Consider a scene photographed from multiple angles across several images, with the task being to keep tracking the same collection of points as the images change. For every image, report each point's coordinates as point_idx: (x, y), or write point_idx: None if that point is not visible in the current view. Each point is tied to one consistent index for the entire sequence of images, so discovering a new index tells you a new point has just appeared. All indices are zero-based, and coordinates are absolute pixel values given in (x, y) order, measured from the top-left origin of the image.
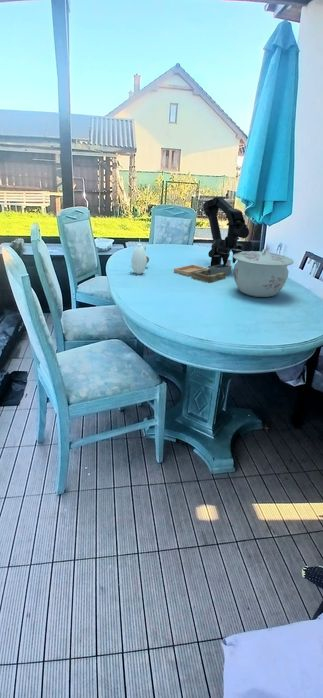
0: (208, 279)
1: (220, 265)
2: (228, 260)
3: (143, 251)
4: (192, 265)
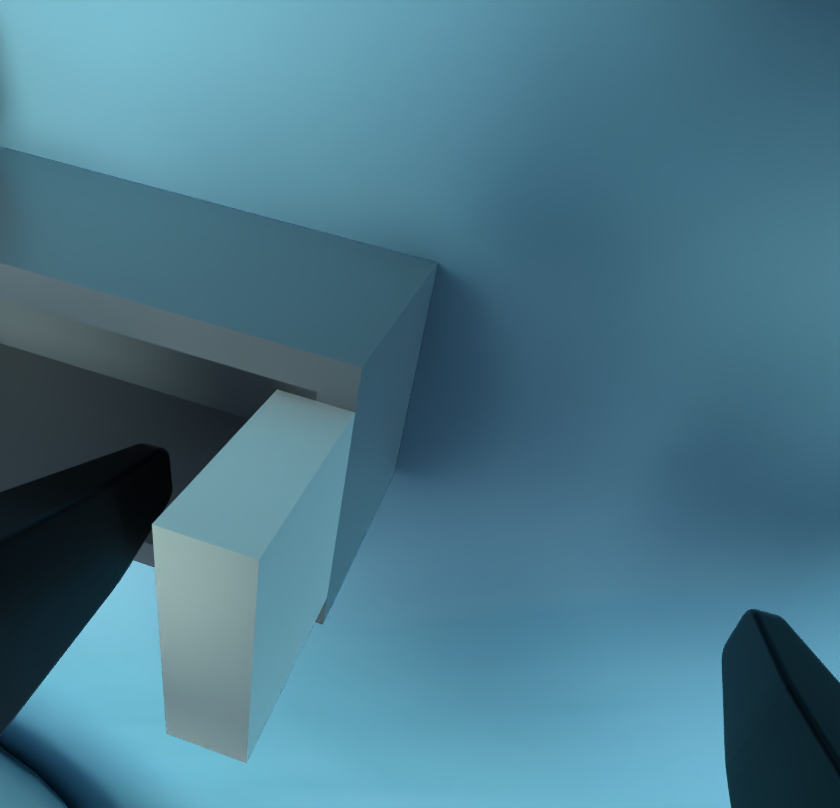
0: None
1: (134, 327)
2: (168, 679)
3: None
4: None
